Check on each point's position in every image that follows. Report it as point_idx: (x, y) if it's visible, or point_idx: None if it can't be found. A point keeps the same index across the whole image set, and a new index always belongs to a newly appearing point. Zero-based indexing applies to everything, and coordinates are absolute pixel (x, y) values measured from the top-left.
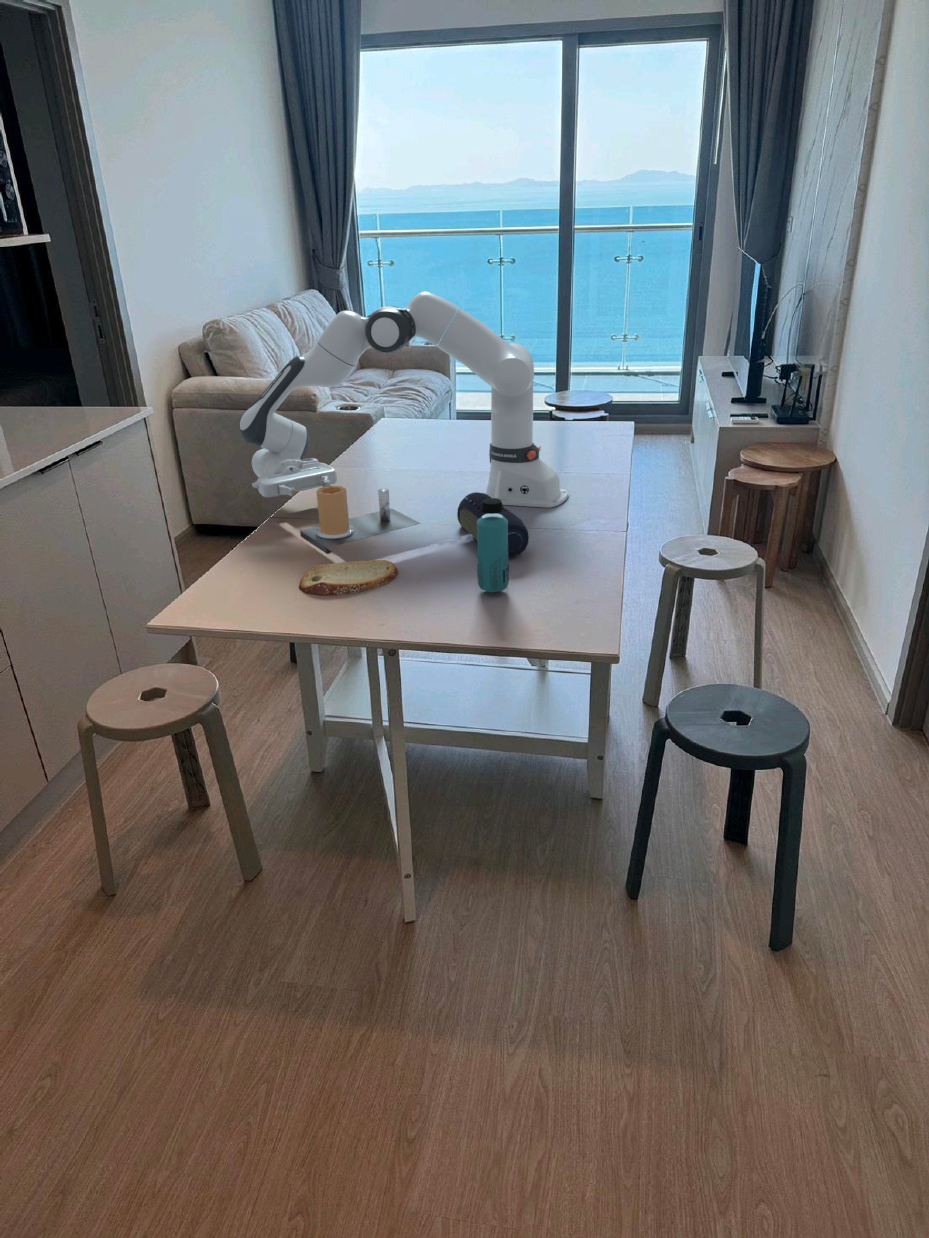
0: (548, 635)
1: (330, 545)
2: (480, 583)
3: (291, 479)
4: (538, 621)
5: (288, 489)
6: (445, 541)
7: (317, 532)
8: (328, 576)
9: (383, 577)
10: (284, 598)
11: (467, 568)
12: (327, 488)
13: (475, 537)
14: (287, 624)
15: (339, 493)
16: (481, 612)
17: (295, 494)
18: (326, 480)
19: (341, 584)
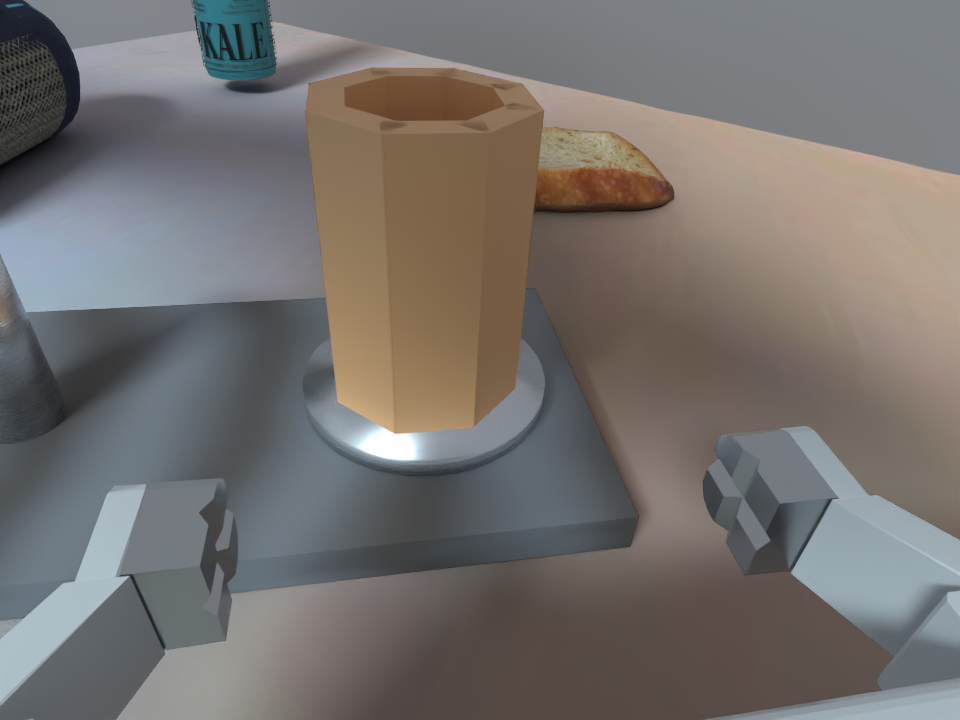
0: (292, 39)
1: None
2: (274, 57)
3: (855, 707)
4: None
5: (830, 462)
6: (32, 236)
7: (537, 384)
8: (584, 163)
9: None
10: (717, 179)
11: (185, 137)
12: (427, 126)
13: (4, 142)
14: (705, 129)
15: (397, 69)
16: (327, 72)
17: (710, 484)
18: (137, 518)
19: (562, 128)
